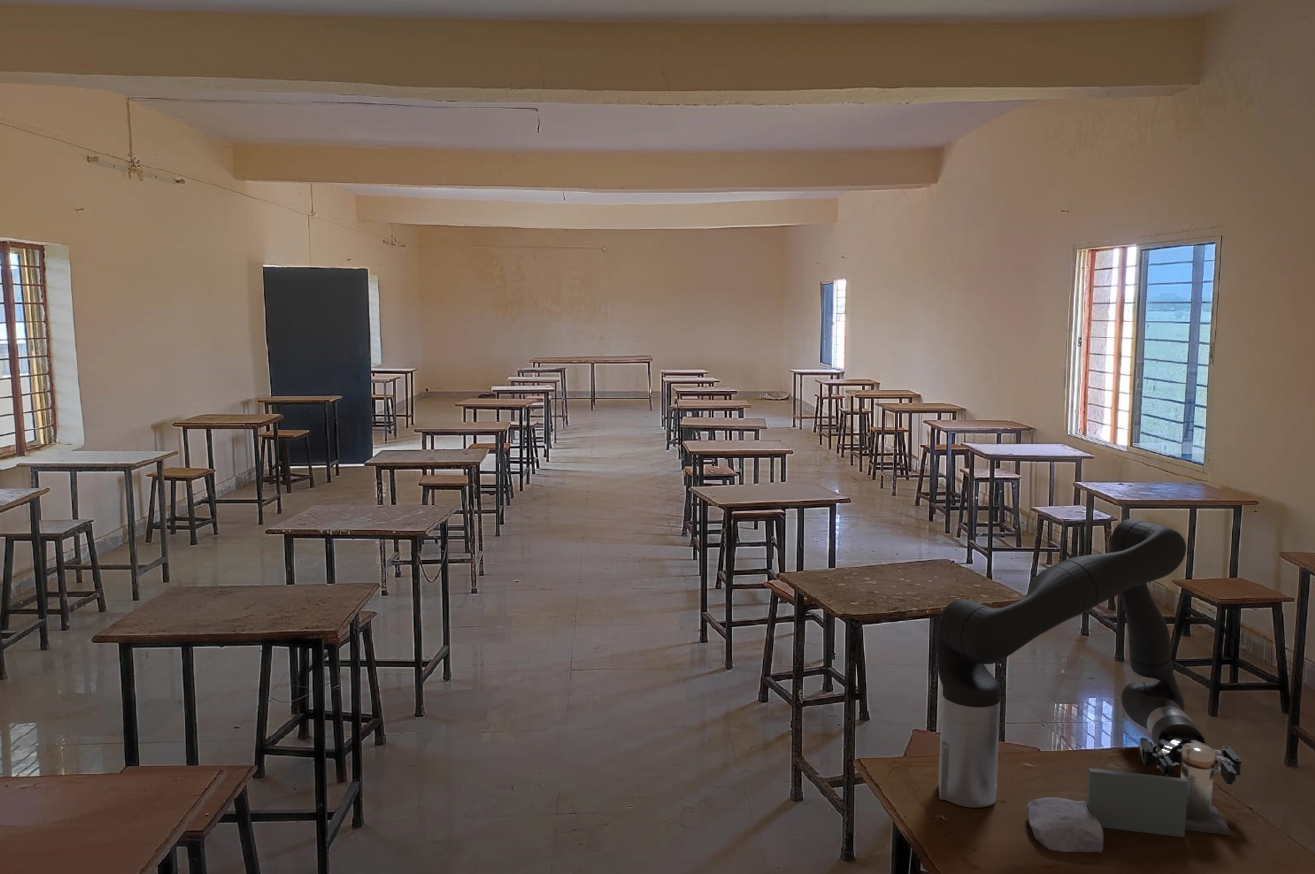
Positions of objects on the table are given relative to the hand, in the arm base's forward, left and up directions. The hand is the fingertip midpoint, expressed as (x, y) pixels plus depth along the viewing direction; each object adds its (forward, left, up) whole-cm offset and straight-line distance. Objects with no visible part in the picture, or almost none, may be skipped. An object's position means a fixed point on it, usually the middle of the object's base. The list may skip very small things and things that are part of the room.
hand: (1200, 775), depth 154 cm
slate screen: (-10, -4, -8) cm, 14 cm away
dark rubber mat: (0, +2, -8) cm, 9 cm away
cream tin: (0, +2, -8) cm, 8 cm away
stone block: (-22, -8, -9) cm, 25 cm away
